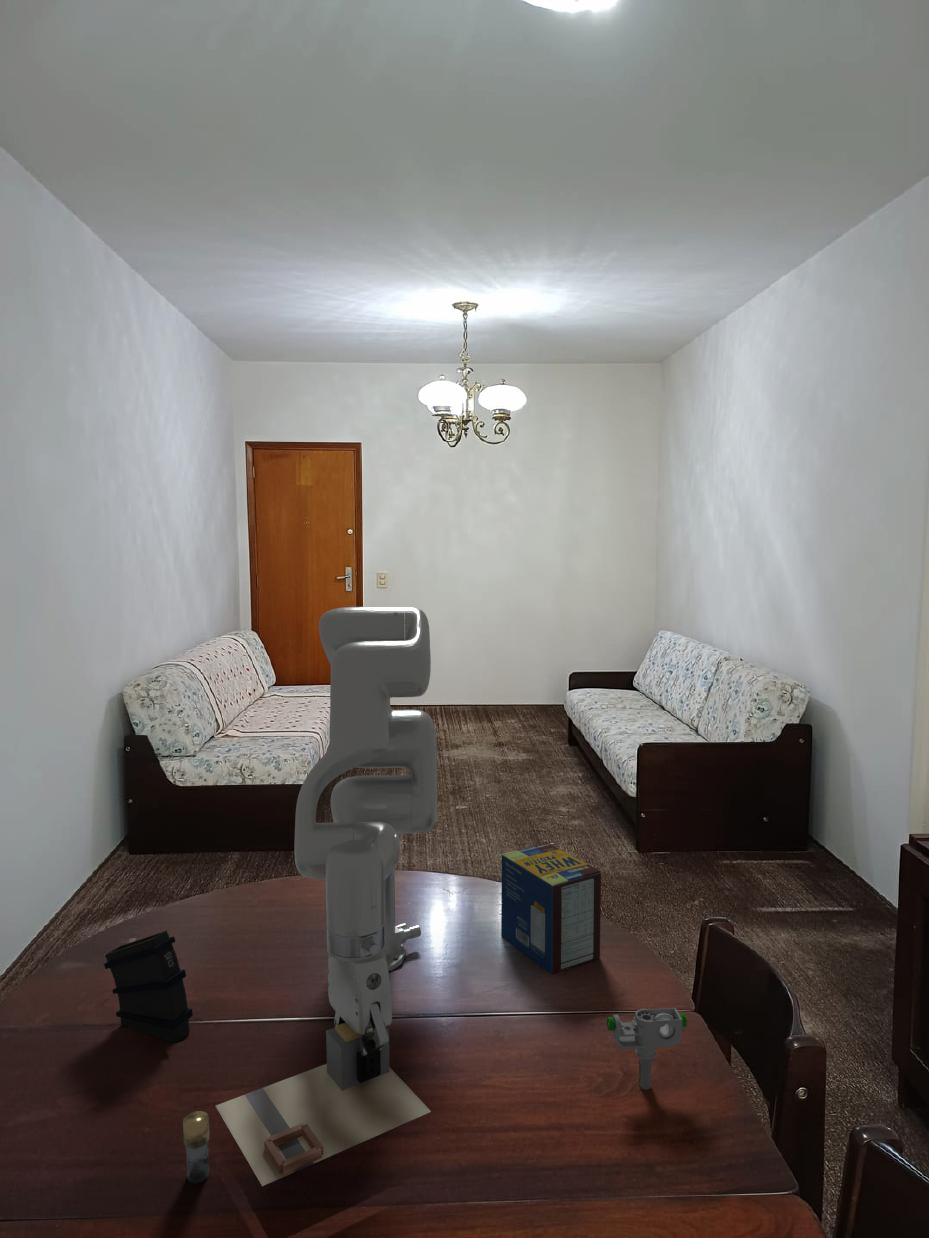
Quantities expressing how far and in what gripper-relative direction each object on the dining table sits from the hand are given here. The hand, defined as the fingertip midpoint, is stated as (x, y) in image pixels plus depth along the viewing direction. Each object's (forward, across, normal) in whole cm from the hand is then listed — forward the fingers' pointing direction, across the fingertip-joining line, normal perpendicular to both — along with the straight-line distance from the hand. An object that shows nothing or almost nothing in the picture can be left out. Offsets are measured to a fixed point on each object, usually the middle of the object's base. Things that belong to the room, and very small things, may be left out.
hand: (358, 1064), depth 119 cm
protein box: (+3, +14, -44) cm, 46 cm away
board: (+2, -4, +7) cm, 8 cm away
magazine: (+2, +28, +20) cm, 34 cm away
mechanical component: (+2, -22, -31) cm, 38 cm away
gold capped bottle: (+2, -5, +23) cm, 24 cm away
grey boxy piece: (+1, 0, 0) cm, 1 cm away
